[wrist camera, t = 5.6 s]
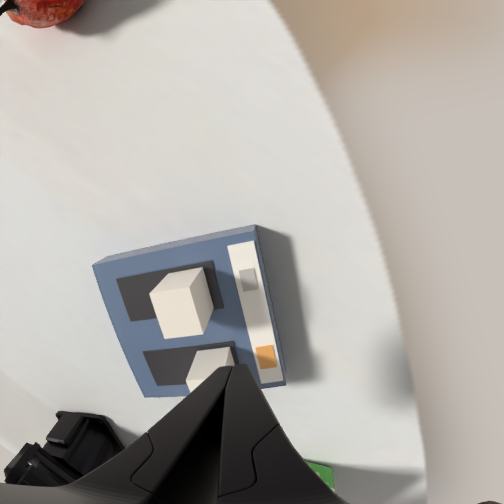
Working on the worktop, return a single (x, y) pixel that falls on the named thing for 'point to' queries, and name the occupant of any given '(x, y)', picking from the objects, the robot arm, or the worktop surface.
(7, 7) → the pomegranate
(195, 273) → the tab
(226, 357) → the tab
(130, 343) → the panel
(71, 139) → the worktop surface
